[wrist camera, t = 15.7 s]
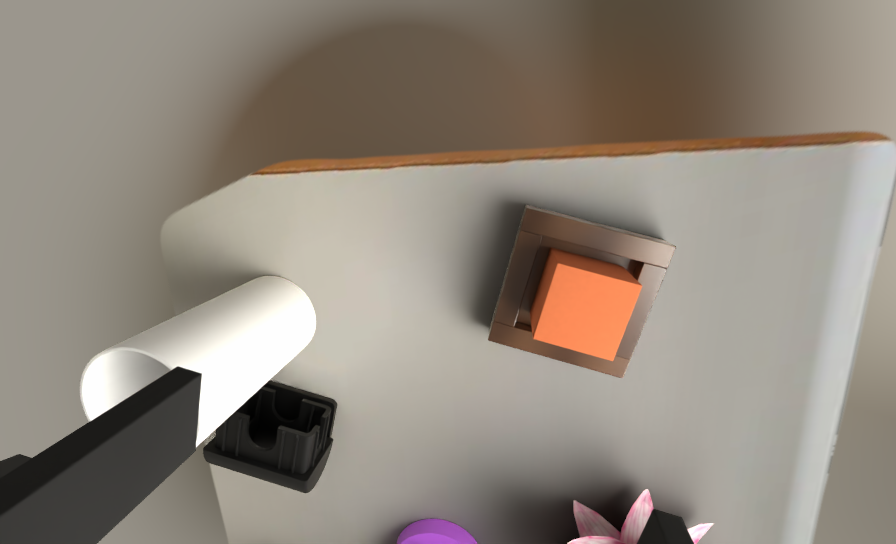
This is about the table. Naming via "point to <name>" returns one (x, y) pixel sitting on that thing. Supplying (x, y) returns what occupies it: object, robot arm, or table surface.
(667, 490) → the table surface
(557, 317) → the orange cube
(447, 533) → the figurine
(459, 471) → the table surface
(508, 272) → the brown wooden tray
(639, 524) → the decorative flower
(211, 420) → the cup
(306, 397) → the end cap
